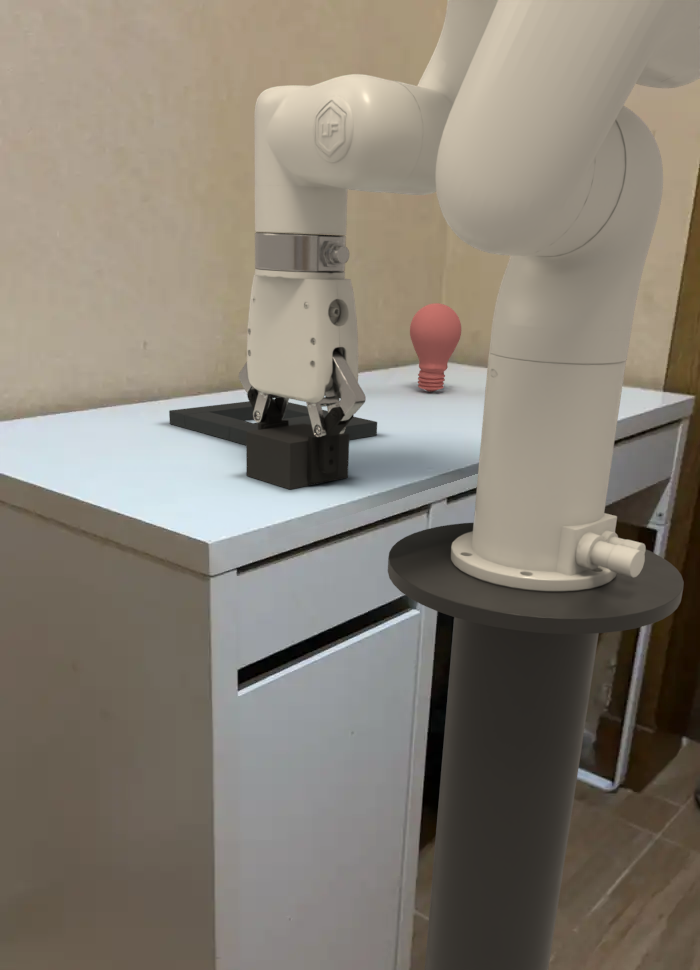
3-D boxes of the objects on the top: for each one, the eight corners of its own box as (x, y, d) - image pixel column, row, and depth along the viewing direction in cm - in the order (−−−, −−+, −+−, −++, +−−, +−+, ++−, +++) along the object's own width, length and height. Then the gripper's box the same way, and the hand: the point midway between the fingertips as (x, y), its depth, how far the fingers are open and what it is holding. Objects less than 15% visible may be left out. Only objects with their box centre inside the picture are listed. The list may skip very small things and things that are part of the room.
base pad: (376, 435, 103) (377, 421, 103) (272, 452, 93) (272, 437, 93) (272, 410, 115) (272, 398, 114) (169, 423, 105) (168, 410, 104)
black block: (348, 477, 85) (349, 433, 83) (289, 489, 80) (290, 443, 79) (304, 465, 89) (305, 423, 87) (246, 475, 84) (245, 431, 83)
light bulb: (451, 398, 129) (458, 306, 124) (401, 393, 130) (406, 303, 126) (460, 390, 135) (467, 303, 130) (412, 386, 137) (417, 300, 132)
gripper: (407, 263, 74) (395, 485, 81) (268, 254, 85) (268, 450, 92) (339, 263, 69) (332, 499, 76) (201, 253, 81) (206, 460, 88)
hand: (297, 470), depth 84 cm, fingers closed on black block, 6 cm apart
